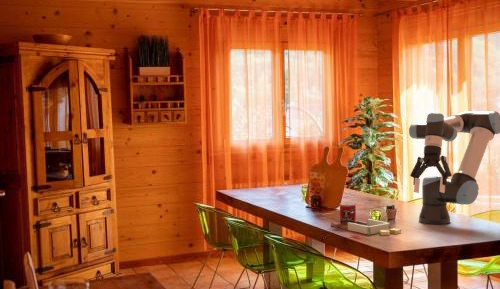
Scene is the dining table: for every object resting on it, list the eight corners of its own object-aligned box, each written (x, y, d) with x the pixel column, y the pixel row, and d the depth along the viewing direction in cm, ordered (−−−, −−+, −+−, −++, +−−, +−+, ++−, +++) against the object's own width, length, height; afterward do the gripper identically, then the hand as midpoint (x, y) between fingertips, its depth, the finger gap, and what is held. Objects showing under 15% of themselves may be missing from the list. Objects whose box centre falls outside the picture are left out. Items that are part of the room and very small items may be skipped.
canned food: (338, 226, 298) (338, 204, 298) (341, 223, 306) (341, 202, 305) (354, 227, 296) (353, 205, 295) (357, 224, 303) (356, 202, 302)
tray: (347, 229, 290) (347, 222, 290) (369, 225, 298) (369, 218, 298) (369, 234, 279) (369, 227, 278) (390, 230, 287) (390, 223, 287)
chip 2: (388, 233, 281) (388, 229, 281) (394, 232, 284) (393, 228, 284) (396, 234, 278) (396, 230, 278) (401, 233, 281) (401, 229, 281)
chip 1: (379, 234, 281) (379, 230, 281) (388, 234, 280) (388, 229, 280) (380, 236, 277) (380, 231, 277) (389, 235, 276) (389, 231, 276)
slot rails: (331, 225, 300) (331, 222, 300) (351, 222, 308) (351, 219, 308) (347, 229, 291) (347, 226, 291) (368, 225, 299) (368, 222, 299)
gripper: (405, 146, 284) (401, 190, 280) (452, 142, 264) (448, 190, 260) (415, 150, 288) (411, 193, 284) (461, 146, 269) (458, 193, 265)
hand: (428, 192), depth 272 cm, fingers open, 13 cm apart
